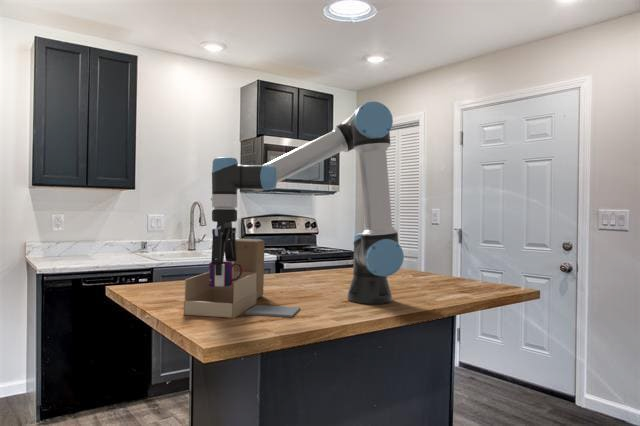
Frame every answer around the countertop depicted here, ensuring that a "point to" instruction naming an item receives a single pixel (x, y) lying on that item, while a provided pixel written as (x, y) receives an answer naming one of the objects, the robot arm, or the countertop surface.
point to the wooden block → (251, 260)
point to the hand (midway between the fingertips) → (224, 284)
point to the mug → (227, 274)
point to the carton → (220, 296)
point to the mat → (273, 311)
